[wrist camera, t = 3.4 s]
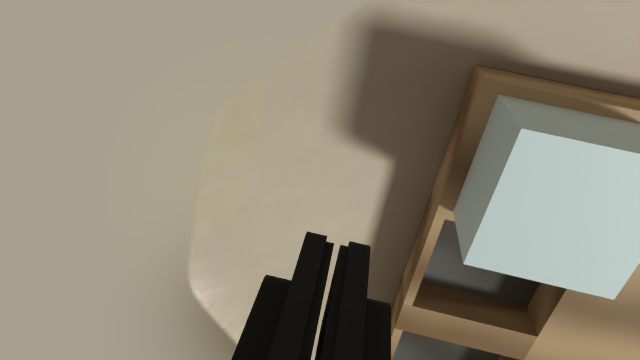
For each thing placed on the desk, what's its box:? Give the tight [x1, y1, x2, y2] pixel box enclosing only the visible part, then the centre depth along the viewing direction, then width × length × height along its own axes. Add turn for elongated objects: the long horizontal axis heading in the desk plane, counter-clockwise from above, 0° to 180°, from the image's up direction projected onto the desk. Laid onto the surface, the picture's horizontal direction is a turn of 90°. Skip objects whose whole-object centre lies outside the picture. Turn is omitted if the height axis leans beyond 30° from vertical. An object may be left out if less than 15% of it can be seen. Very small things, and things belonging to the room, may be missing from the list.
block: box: [453, 94, 640, 300], centre depth 17 cm, size 6×6×4 cm
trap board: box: [391, 65, 640, 360], centre depth 24 cm, size 26×17×4 cm, turn 170°
